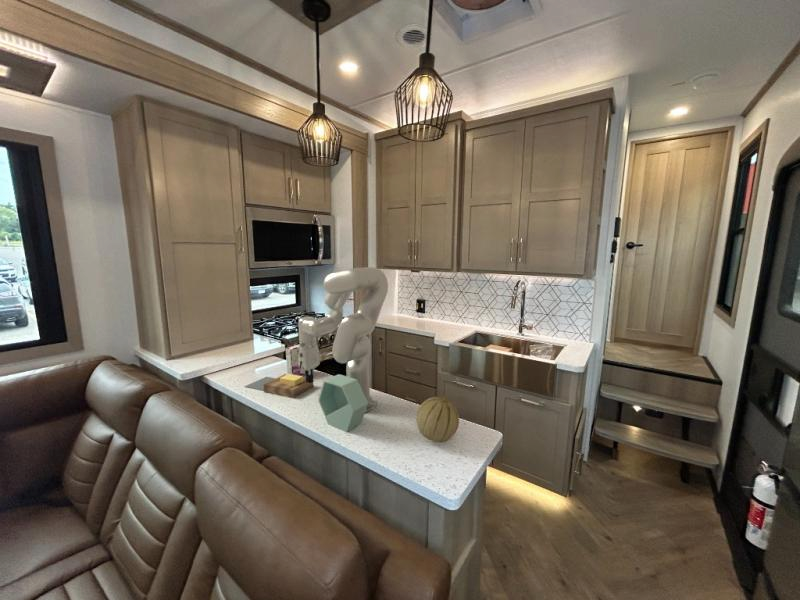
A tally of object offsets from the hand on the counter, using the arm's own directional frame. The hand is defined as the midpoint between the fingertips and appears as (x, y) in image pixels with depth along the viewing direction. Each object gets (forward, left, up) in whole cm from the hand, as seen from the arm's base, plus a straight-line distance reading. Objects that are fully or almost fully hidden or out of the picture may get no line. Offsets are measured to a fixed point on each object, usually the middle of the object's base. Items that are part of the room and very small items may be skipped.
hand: (309, 382), depth 152 cm
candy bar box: (+22, -17, -6) cm, 28 cm away
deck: (+13, 0, -6) cm, 14 cm away
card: (+11, 0, -2) cm, 11 cm away
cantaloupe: (-66, +13, -6) cm, 68 cm away
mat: (+29, -1, -6) cm, 29 cm away
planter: (-30, +17, -6) cm, 35 cm away
